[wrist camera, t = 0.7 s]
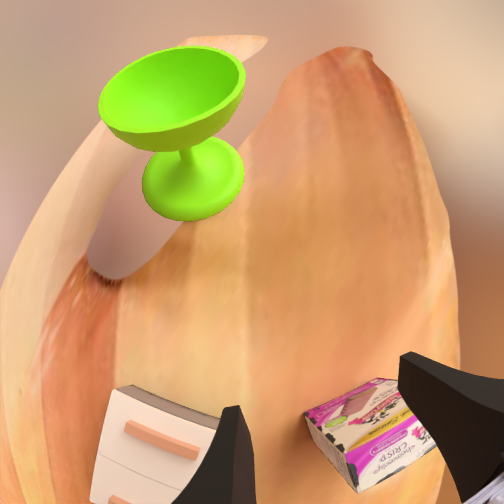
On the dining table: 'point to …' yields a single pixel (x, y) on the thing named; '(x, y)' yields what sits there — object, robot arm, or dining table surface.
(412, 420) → the candy bar box
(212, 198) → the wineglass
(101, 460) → the lid
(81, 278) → the dining table surface
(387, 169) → the dining table surface
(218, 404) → the dining table surface
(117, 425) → the lid
